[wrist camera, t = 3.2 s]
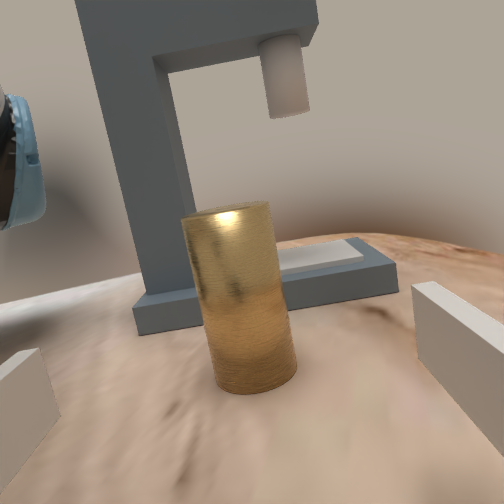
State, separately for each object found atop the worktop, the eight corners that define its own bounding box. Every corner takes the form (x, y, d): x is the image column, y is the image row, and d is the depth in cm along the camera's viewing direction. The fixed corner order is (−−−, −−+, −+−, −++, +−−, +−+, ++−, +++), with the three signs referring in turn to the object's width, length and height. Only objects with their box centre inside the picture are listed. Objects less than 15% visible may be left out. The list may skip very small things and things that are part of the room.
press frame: (139, 335, 33) (27, -98, 27) (168, 291, 45) (96, -17, 39) (398, 291, 33) (350, -167, 26) (360, 258, 44) (319, -63, 38)
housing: (199, 387, 23) (161, 223, 21) (242, 347, 28) (214, 206, 25) (274, 400, 21) (238, 214, 19) (309, 354, 25) (283, 197, 23)
